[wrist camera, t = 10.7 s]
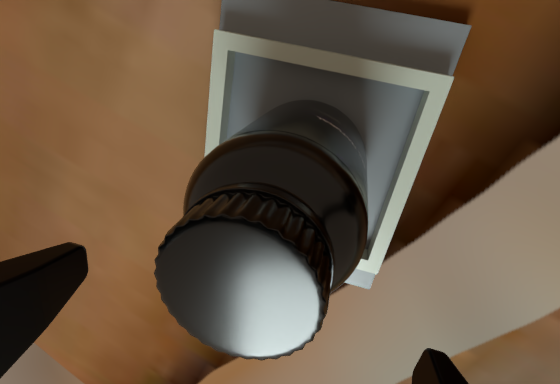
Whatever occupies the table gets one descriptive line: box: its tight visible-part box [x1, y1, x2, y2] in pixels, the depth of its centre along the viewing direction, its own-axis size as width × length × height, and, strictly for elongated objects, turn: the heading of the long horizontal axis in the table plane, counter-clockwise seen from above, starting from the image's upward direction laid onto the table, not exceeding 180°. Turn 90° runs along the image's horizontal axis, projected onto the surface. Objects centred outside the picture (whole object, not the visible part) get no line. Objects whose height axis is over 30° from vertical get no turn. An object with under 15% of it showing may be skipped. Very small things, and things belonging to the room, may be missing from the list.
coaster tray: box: [205, 0, 471, 289], centre depth 19 cm, size 12×16×2 cm
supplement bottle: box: [154, 100, 368, 360], centre depth 14 cm, size 7×7×12 cm
